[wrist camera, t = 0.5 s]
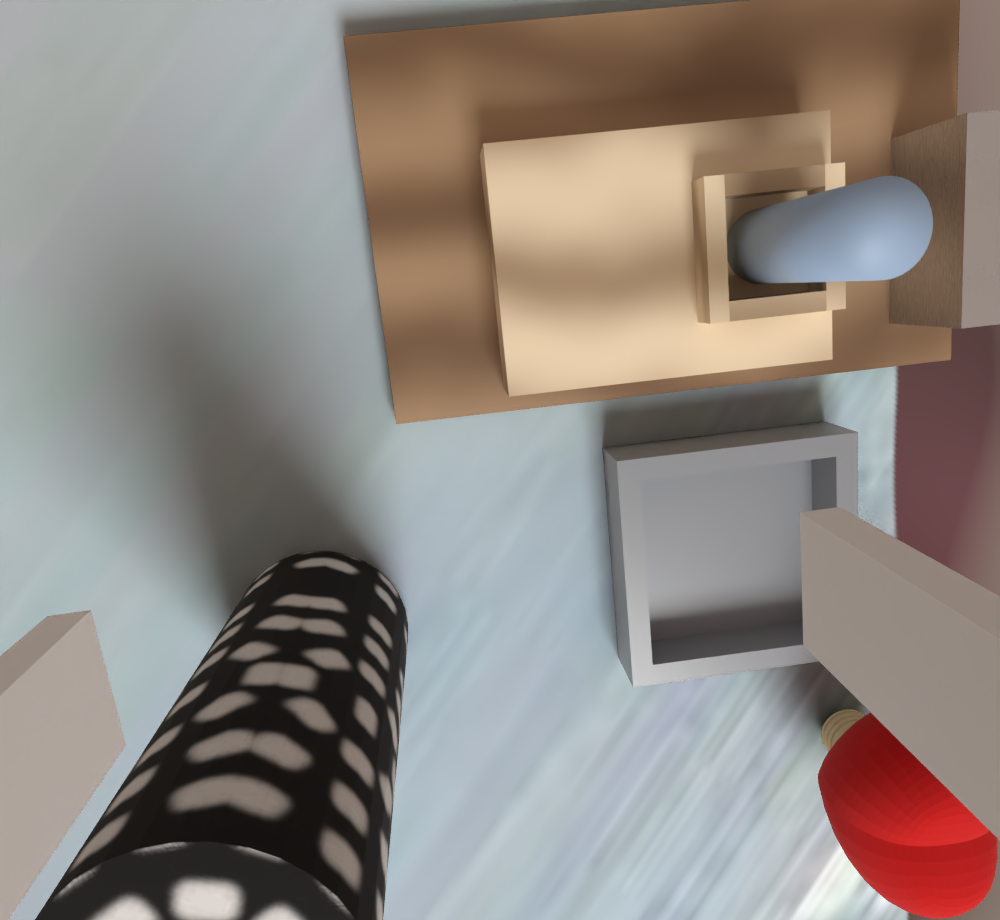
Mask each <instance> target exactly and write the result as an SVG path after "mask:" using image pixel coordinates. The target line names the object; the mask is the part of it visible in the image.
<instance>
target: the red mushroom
mask: <svg viewBox="0 0 1000 920" xmlns="http://www.w3.org/2000/svg"><path fill="white" fill-rule="evenodd" d="M821 739H822V742H823V745H824V746H825V748H826V749H827V750H828V751H829V752H828V754H827V756H826V757H825V759H824V761H823V763H822V766H821V768H820V771H819V773H818V783H819V787H820V791H821V795H822V799H823V803H824V807H825V810H826V813H827V815H828V818H829V821H830V823H831V826H832V829H833V831H834V834H835V836H836V837H837V839H838V841H839V843H840V845H841V847H842V849H843V850H844V852H845V854H846V856H847V857H848V859H849V860H850V862H851V863H852V864H853V866H854V867H855V868H856V870H857V871H858V872H859V874H860V875H861V876H862V877H863V879H864V880H865V881H866V882H867V883H868V884H869V885H870V886H871V887H872V888H874V889H875V890H876V891H877V892H878V893H879V894H880V895H881V896H883V897H884V898H885V899H886V900H888V901H889V902H891V903H892V904H894V905H896V906H898V907H900V908H901V909H903V910H905V911H907V912H909V913H912V914H915V915H919V916H923V917H927V918H949V917H954V916H958V915H961V914H963V913H965V912H967V911H969V910H971V909H973V908H975V907H976V906H977V905H978V904H979V903H980V902H981V901H982V900H983V899H984V898H985V896H986V895H987V893H988V892H989V890H990V888H991V885H992V882H993V879H994V876H995V870H996V863H997V837H996V836H995V835H994V834H993V833H992V832H991V831H990V830H989V829H988V828H987V827H986V826H985V825H983V824H982V823H981V822H980V821H979V820H978V819H977V818H976V817H975V816H974V815H973V814H972V813H971V812H970V811H969V810H968V809H967V808H966V807H965V806H964V805H963V804H962V803H961V802H960V801H959V800H958V799H957V798H956V797H955V796H954V795H953V794H952V793H951V792H950V791H949V790H948V789H947V788H946V787H945V786H944V785H943V784H942V783H941V782H940V781H939V780H938V779H937V778H936V777H935V776H934V775H933V774H932V773H931V772H930V771H929V770H928V769H927V768H926V767H925V766H924V765H923V764H922V763H921V762H920V761H919V760H918V759H917V758H916V757H915V756H914V755H913V754H912V753H911V752H910V751H909V750H908V749H907V748H906V747H905V746H904V745H903V744H902V743H901V742H900V741H899V740H898V739H897V738H896V737H895V736H894V735H893V734H892V733H891V732H890V731H889V730H888V729H887V728H886V727H885V726H884V725H883V724H882V723H881V722H880V721H879V720H878V719H877V718H876V717H875V716H874V715H873V714H872V713H869V714H867V715H864V714H863V713H861V712H859V711H857V710H853V709H845V710H841V711H838V712H836V713H834V714H833V715H831V716H830V717H829V718H828V719H827V720H826V722H825V723H824V725H823V727H822V731H821Z"/></svg>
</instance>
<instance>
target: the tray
mask: <svg viewBox="0 0 1000 920" xmlns="http://www.w3.org/2000/svg"><path fill="white" fill-rule="evenodd" d="M603 460H604V473H605V486H606V499H607V512H608V525H609V538H610V551H611V564H612V577H613V590H614V603H615V616H616V629H617V642H618V655H619V659H620V661H621V663H622V665H623V667H624V669H625V672H626V674H627V676H628V678H629V680H630V682H631V684H632V686H633V687H637V686H645V685H652V684H659V683H667V682H674V681H681V680H689V679H696V678H703V677H711V676H718V675H725V674H733V673H740V672H747V671H755V670H762V669H769V668H776V667H784V666H791V665H798V664H806V663H813V662H819V661H818V660H817V659H816V658H815V657H814V656H813V655H812V654H811V653H810V652H809V651H808V650H807V649H806V648H805V647H804V646H803V615H802V577H801V538H800V512H806V511H814V510H821V509H828V508H835V507H840V508H842V509H844V510H846V511H847V512H849V513H851V514H853V515H855V516H856V517H858V432H855V431H852V430H849V429H846V428H843V427H840V426H837V425H834V424H831V423H828V422H816V423H808V424H799V425H791V426H783V427H774V428H766V429H758V430H749V431H741V432H732V433H724V434H716V435H707V436H699V437H691V438H682V439H674V440H665V441H657V442H649V443H640V444H632V445H624V446H615V447H607V448H603Z"/></svg>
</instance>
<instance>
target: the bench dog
mask: <svg viewBox="0 0 1000 920" xmlns="http://www.w3.org/2000/svg"><path fill="white" fill-rule="evenodd" d="M890 176H898V177H901V178H905V179H907V180H909V181H911V182H912V183H914V184H915V185H917V186H918V187H919V188H920V189H921V190H922V192H923V193H924V194H925V196H926V197H927V199H928V201H929V204H930V207H931V210H932V216H933V230H932V235H931V239H930V242H929V245H928V247H927V249H926V251H925V253H924V255H923V256H922V258H921V259H920V260H919V261H918V262H917V264H916V265H915V266H914V267H912V268H911V269H910V270H909V271H907V272H906V273H904V274H902V275H900V276H898V277H896V278H893V279H890V295H889V324H903V325H918V326H933V327H947V328H970V327H978V326H987V325H996V324H1000V110H993V111H984V112H973V113H966V114H963V115H960V116H957V117H954V118H951V119H948V120H945V121H942V122H939V123H937V124H934V125H931V126H928V127H925V128H922V129H919V130H916V131H913V132H910V133H907V134H904V135H901V136H898V137H895V138H892V139H891V160H890Z"/></svg>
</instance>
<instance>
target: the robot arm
mask: <svg viewBox="0 0 1000 920" xmlns="http://www.w3.org/2000/svg"><path fill="white" fill-rule="evenodd" d="M800 538H801V577H802V615H803V646H804V647H805V648H806V649H807V650H808V651H809V652H810V653H811V654H812V655H813V656H814V657H815V658H816V659H817V660H818V661H819V662H820V663H821V664H822V665H823V666H824V667H825V668H826V669H827V670H828V671H829V672H830V673H831V674H832V675H833V676H834V677H835V678H836V679H837V680H838V681H839V682H840V683H841V684H842V685H843V686H844V687H845V688H847V689H848V690H849V691H850V692H851V693H852V694H853V695H854V696H855V697H856V698H857V699H858V700H859V701H860V702H861V703H862V704H863V705H864V706H865V707H866V708H867V709H868V710H869V711H870V712H871V713H872V714H873V715H874V716H875V717H876V718H877V719H878V720H879V721H880V722H881V723H882V724H883V725H884V726H885V727H886V728H887V729H888V730H889V731H890V732H891V733H892V734H893V735H894V736H895V737H896V738H897V739H898V740H899V741H900V742H901V743H902V744H903V745H904V746H905V747H906V748H907V749H908V750H909V751H910V752H911V753H912V754H913V755H914V756H915V757H916V758H917V759H918V760H919V761H920V762H921V763H922V764H923V765H924V766H925V767H926V768H927V769H928V770H929V771H930V772H931V773H932V774H933V775H934V776H935V777H936V778H937V779H938V780H939V781H940V782H941V783H942V784H943V785H944V786H945V787H946V788H947V789H948V790H949V791H950V792H951V793H952V794H953V795H954V796H955V797H956V798H957V799H958V800H959V801H960V802H961V803H962V804H963V805H964V806H965V807H966V808H967V809H968V810H969V811H970V812H971V813H972V814H973V815H974V816H975V817H976V818H977V819H978V820H979V821H980V822H981V823H982V824H983V825H985V826H986V827H987V828H988V829H989V830H990V831H991V832H992V833H993V834H994V835H995V836H996V837H997V838H998V839H999V840H1000V597H999V596H998V595H996V594H994V593H992V592H991V591H989V590H987V589H985V588H983V587H982V586H980V585H978V584H976V583H974V582H973V581H971V580H969V579H967V578H966V577H964V576H962V575H960V574H958V573H957V572H955V571H953V570H951V569H949V568H947V567H946V566H944V565H942V564H940V563H939V562H937V561H935V560H933V559H931V558H930V557H928V556H926V555H924V554H923V553H921V552H919V551H917V550H915V549H914V548H912V547H910V546H908V545H906V544H905V543H903V542H901V541H899V540H897V539H896V538H894V537H892V536H890V535H889V534H887V533H885V532H883V531H881V530H880V529H878V528H876V527H874V526H872V525H871V524H869V523H867V522H865V521H863V520H862V519H860V518H858V517H856V516H855V515H853V514H851V513H849V512H847V511H846V510H844V509H842V508H840V507H835V508H828V509H821V510H814V511H806V512H800ZM125 746H126V744H125V740H124V736H123V732H122V728H121V724H120V721H119V717H118V713H117V709H116V705H115V701H114V698H113V694H112V690H111V686H110V682H109V678H108V674H107V671H106V667H105V663H104V659H103V655H102V651H101V648H100V644H99V640H98V636H97V632H96V628H95V625H94V621H93V617H92V613H91V610H89V611H82V612H74V613H67V614H60V615H53V616H47V617H46V618H45V619H43V620H42V621H41V622H40V623H39V624H38V625H36V626H35V627H34V628H33V629H32V630H31V631H29V632H28V633H27V634H26V635H25V636H24V637H22V638H21V639H20V640H19V641H18V642H17V643H15V644H14V645H13V646H12V647H11V648H10V649H8V650H7V651H6V652H5V653H4V654H3V655H1V656H0V920H8V919H9V918H10V916H11V915H12V913H13V912H14V910H15V909H16V907H17V906H18V904H19V903H20V901H21V900H22V899H23V897H24V896H25V894H26V893H27V891H28V890H29V888H30V887H31V885H32V884H33V882H34V881H35V879H36V878H37V876H38V875H39V873H40V872H41V870H42V869H43V867H44V866H45V864H46V863H47V861H48V860H49V858H50V857H51V856H52V854H53V853H54V851H55V850H56V848H57V847H58V845H59V844H60V842H61V841H62V839H63V838H64V836H65V835H66V833H67V832H68V830H69V829H70V827H71V826H72V824H73V823H74V821H75V820H76V818H77V817H78V815H79V814H80V813H81V811H82V810H83V808H84V807H85V805H86V804H87V802H88V801H89V799H90V798H91V796H92V795H93V793H94V792H95V790H96V789H97V787H98V786H99V784H100V783H101V781H102V780H103V778H104V777H105V775H106V774H107V772H108V771H109V769H110V768H111V767H112V765H113V764H114V762H115V761H116V759H117V758H118V756H119V755H120V753H121V752H122V750H123V749H124V747H125Z"/></svg>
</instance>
